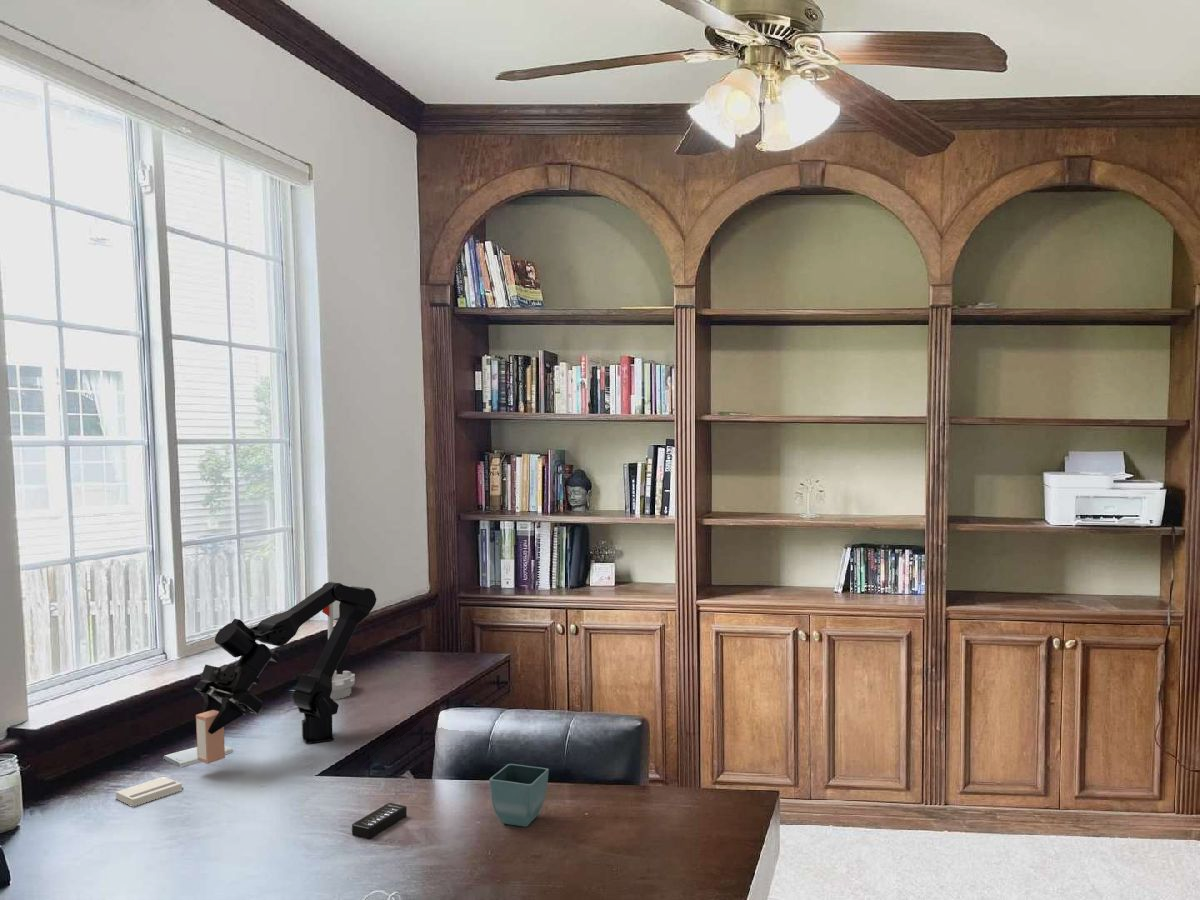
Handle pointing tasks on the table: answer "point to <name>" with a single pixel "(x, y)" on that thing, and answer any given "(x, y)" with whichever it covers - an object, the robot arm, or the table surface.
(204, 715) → the stub
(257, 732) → the table surface
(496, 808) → the flower pot
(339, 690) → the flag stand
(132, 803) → the striped cream block
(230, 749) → the hard drive
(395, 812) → the multiport hub
